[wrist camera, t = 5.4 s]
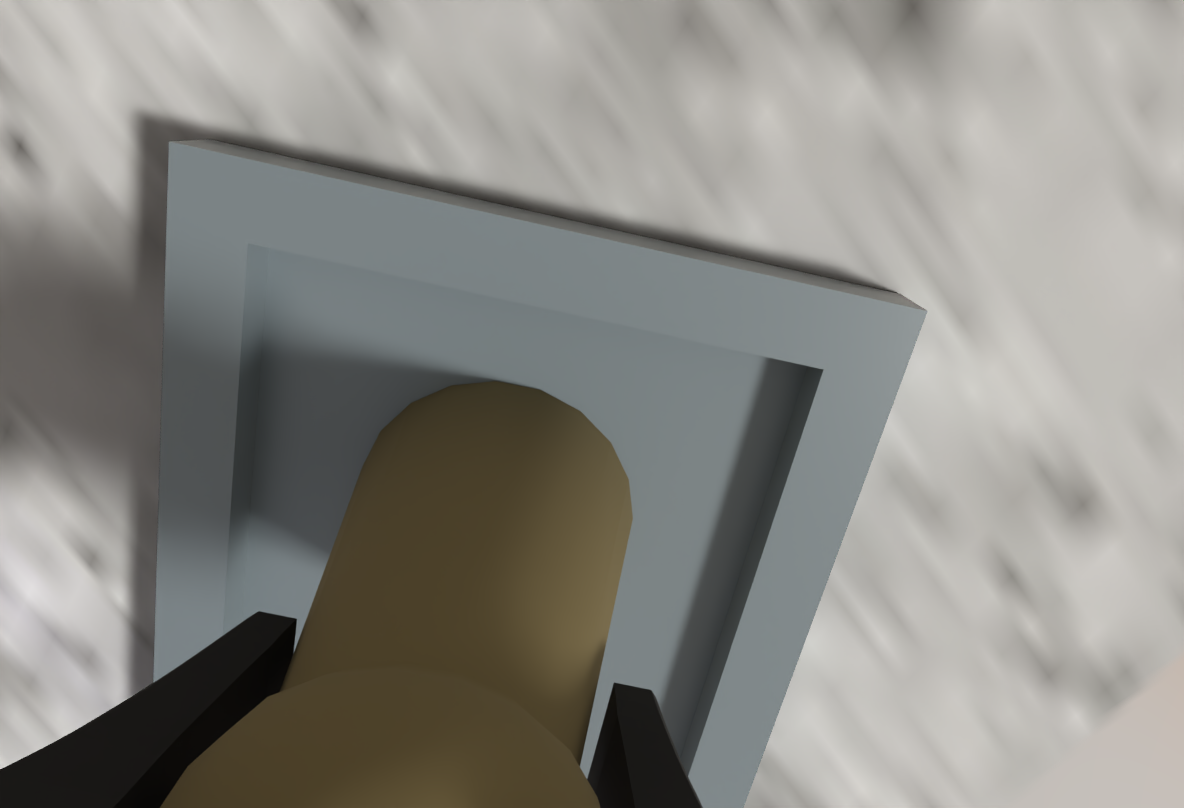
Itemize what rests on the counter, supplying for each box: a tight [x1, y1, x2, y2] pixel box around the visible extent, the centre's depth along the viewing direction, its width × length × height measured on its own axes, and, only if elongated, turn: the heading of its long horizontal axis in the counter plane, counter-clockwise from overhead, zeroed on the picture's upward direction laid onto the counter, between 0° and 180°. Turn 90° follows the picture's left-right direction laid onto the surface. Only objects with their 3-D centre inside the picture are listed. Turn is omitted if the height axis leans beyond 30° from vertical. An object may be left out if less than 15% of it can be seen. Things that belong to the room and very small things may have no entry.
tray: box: [153, 139, 927, 808], centre depth 18 cm, size 20×14×2 cm
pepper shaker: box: [160, 381, 633, 808], centre depth 12 cm, size 6×6×11 cm
